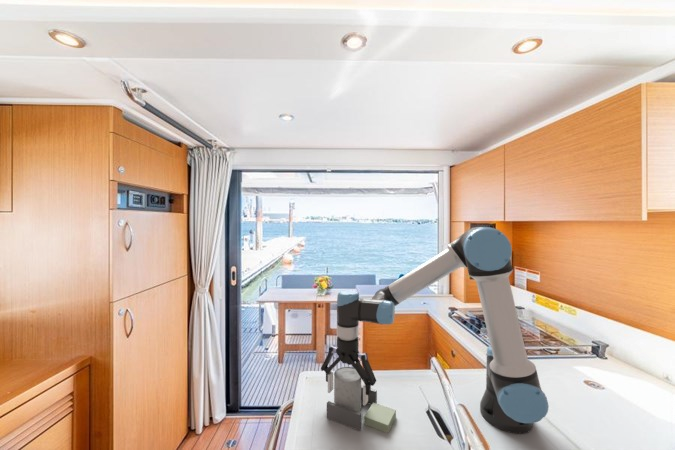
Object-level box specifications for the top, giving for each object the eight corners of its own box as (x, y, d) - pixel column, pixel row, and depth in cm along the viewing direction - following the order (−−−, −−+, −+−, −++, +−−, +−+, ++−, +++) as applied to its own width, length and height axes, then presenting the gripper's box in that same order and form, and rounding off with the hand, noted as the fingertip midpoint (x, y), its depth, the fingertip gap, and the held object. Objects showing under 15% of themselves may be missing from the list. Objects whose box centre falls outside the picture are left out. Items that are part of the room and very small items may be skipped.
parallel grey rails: (376, 403, 101) (376, 390, 101) (359, 431, 88) (359, 415, 88) (346, 393, 107) (346, 380, 107) (326, 417, 94) (326, 403, 94)
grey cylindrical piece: (359, 420, 93) (359, 383, 93) (331, 416, 95) (331, 380, 95) (362, 402, 102) (363, 368, 102) (336, 398, 104) (337, 365, 104)
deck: (395, 417, 94) (395, 409, 94) (387, 433, 87) (388, 425, 87) (373, 409, 98) (373, 402, 98) (364, 424, 91) (364, 416, 91)
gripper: (385, 339, 95) (385, 401, 96) (322, 325, 107) (322, 381, 108) (377, 348, 89) (377, 415, 89) (311, 332, 101) (311, 391, 101)
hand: (347, 396), depth 99 cm, fingers open, 13 cm apart
